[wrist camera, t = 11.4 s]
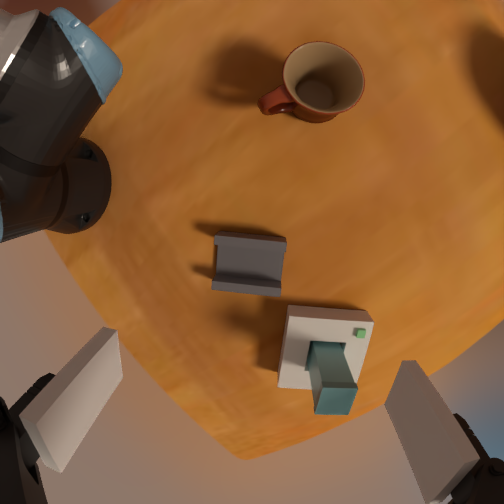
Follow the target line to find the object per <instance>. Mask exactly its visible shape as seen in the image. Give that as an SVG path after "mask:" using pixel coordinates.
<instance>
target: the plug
mask: <svg viewBox="0 0 504 504" xmlns="http://www.w3.org/2000/svg"><path fill="white" fill-rule="evenodd" d="M307 363H308V369H309V375H310V381H311V387H312V393H313V400H314V413H315V414H323V415H348V414H349V412H350V409H351V407H352V404H353V401H354V399H355V396H356V393H357V390H358V387H357V384H356V383H355V382H354V379H353V377H352V374H351V371H350V369H349V366H348V363H347V361H346V358H345V355H344V353H343V350H342V347H341V345H340V342H327V341H312V340H310V345H309V350H308V355H307Z"/></svg>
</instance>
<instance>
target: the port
mask: <svg viewBox="0 0 504 504" xmlns="http://www.w3.org/2000/svg"><path fill="white" fill-rule="evenodd" d="M373 325H374V321H373V319H372V318H371V316H370V315H369V314H368V312H367V311H362V310H347V309H334V308H321V307H309V306H298V305H288V308H287V315H286V322H285V329H284V335H283V342H282V348H281V354H280V361H279V367H278V387H282V388H296V389H312V387H311V381H310V375H309V369H308V363H307V355H308V350H309V345H310V340H312V341H327V342H340V345H341V347H342V350H343V353H344V355H345V358H346V361H347V363H348V366H349V369H350V371H351V374H352V377H353V379H354V382H355V383H356V384H357V381H358V377H359V374H360V371H361V368H362V365H363V361H364V358H365V355H366V351H367V348H368V344H369V340H370V337H371V333H372V329H373Z"/></svg>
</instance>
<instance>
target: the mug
mask: <svg viewBox="0 0 504 504" xmlns="http://www.w3.org/2000/svg"><path fill="white" fill-rule="evenodd" d="M282 78H283V82H284V84H282V85H280V86H279V87H277V88H276V89H275V90H273V91H271V92H269V93H267V94H265V95H264V96H262V97H261V98H260V99H259V100H258V107H259V109H260V111H261V112H262V114H264V115H274V114H278V113H286V112H291V111H292V112H293V114H294V115H295V116H296V117H298V118H299V119H301V120H303V121H306V122H309V123H323V122H326V121H329V120H331V119H333V118H334V117H336V116H337V115H338V114H339V113H342V112H345V111H347V110H349V109H351V108H352V107H353V106H355V105H356V104H357V102H358V101H359V100H360V98H361V96H362V94H363V91H364V86H365V79H364V74H363V71H362V68H361V66H360V64H359V63H358V61H357V60H356V59H355V57H354V56H353V55H352V54H351V53H349V52H348V51H347V50H345V49H344V48H342V47H340V46H338V45H335V44H333V43H329V42H322V41H316V42H309V43H305V44H303V45H301V46H299V47H297V48H296V49H294V50H293V51H292V52H291V53H290V54H289V55H288V57H287V59H286V61H285V63H284V66H283V71H282Z"/></svg>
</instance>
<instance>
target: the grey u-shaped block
mask: <svg viewBox="0 0 504 504" xmlns="http://www.w3.org/2000/svg"><path fill="white" fill-rule="evenodd" d="M214 245H218V251H217V267H216V275H215V277H214V278H213V280H212V290H220V291H228V292H237V293H246V294H255V295H265V296H274V297H280V295H281V275H282V267H283V259H284V252H286V246H287V241H286V238H285V237H275V236H266V235H256V234H246V233H236V232H226V231H219V232H218V233H217V234H216V235H215V239H214Z"/></svg>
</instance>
